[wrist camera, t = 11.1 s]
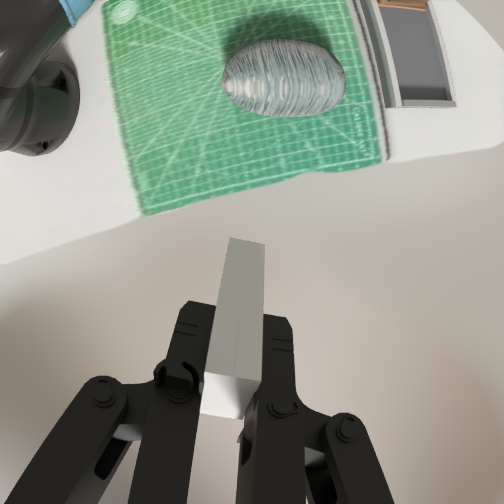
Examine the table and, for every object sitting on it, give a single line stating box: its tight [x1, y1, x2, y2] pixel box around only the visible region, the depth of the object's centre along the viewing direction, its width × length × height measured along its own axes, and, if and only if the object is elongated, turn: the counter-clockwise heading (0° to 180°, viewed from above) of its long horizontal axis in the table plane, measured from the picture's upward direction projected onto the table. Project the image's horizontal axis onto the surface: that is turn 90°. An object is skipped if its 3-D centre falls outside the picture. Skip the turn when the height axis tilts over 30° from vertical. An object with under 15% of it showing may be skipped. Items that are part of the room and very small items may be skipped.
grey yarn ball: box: [221, 39, 346, 117], centre depth 29 cm, size 14×10×10 cm
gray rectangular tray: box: [360, 0, 457, 108], centre depth 27 cm, size 20×10×4 cm, turn 11°
